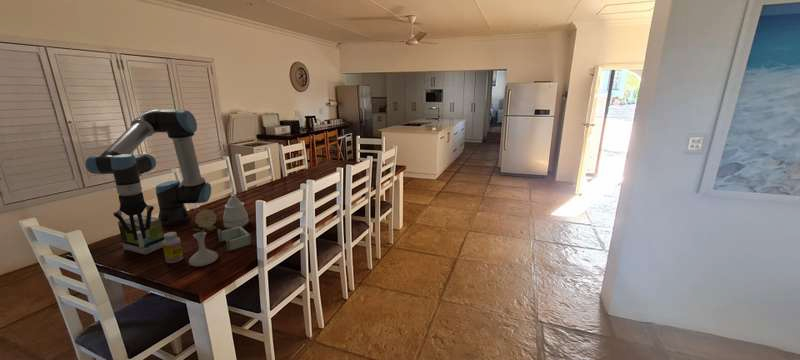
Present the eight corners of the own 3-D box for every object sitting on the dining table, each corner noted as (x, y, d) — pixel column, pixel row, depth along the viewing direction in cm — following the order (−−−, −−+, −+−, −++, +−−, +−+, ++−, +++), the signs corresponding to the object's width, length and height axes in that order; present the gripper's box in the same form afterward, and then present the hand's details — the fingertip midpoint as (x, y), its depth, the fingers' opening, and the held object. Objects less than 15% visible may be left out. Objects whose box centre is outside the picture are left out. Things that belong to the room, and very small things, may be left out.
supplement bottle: (174, 264, 138) (169, 238, 134) (162, 262, 139) (156, 236, 135) (187, 257, 144) (182, 231, 140) (175, 255, 145) (170, 230, 142)
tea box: (166, 245, 153) (161, 218, 149) (144, 255, 144) (138, 226, 140) (145, 240, 158) (139, 213, 154) (123, 249, 149) (116, 221, 145)
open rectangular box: (219, 241, 159) (217, 229, 158) (241, 234, 167) (240, 223, 165) (228, 251, 150) (226, 239, 148) (251, 243, 157) (250, 232, 156)
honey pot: (250, 225, 179) (247, 195, 174) (225, 230, 172) (221, 199, 167) (246, 217, 189) (243, 189, 184) (222, 222, 182) (218, 192, 177)
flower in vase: (186, 271, 133) (176, 217, 126) (191, 258, 143) (183, 207, 136) (221, 265, 138) (213, 213, 131) (224, 253, 148) (217, 204, 141)
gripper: (109, 198, 118) (122, 254, 124) (152, 192, 127) (162, 244, 133) (107, 194, 123) (120, 248, 129) (149, 188, 132) (159, 238, 138)
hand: (141, 246), depth 131 cm, fingers closed
